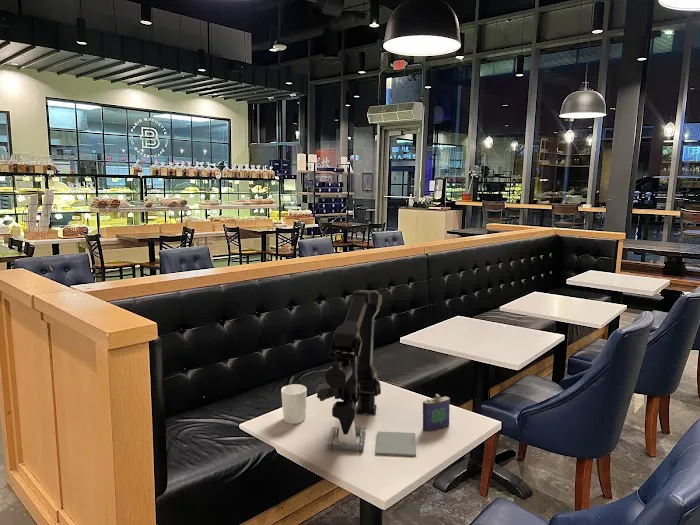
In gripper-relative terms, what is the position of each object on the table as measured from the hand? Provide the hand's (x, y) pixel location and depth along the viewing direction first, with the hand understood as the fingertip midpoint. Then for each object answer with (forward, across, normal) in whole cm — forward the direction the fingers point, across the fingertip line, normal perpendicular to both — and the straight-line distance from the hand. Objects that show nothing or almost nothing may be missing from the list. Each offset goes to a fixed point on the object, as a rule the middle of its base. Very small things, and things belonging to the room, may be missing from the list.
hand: (347, 426), depth 150 cm
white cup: (+5, -13, -18) cm, 23 cm away
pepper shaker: (+5, 0, 0) cm, 5 cm away
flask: (+5, -11, +26) cm, 29 cm away
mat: (+5, 0, +14) cm, 15 cm away
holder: (+5, 0, 0) cm, 5 cm away
